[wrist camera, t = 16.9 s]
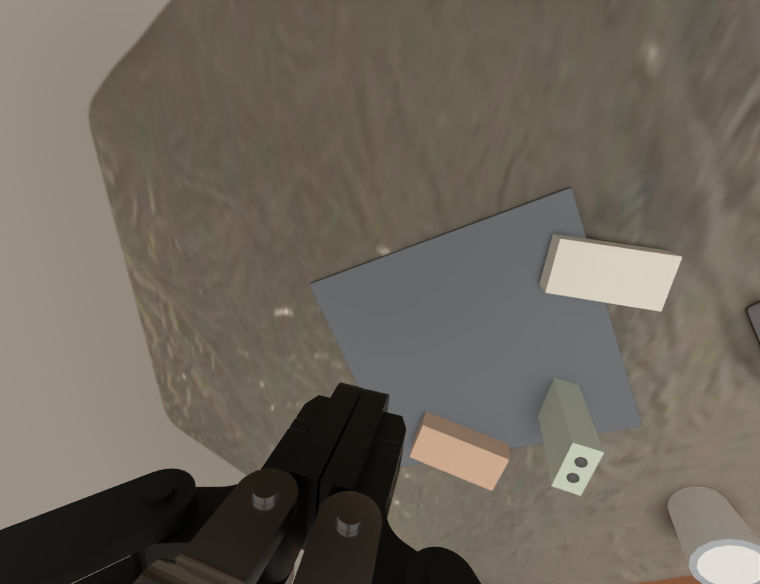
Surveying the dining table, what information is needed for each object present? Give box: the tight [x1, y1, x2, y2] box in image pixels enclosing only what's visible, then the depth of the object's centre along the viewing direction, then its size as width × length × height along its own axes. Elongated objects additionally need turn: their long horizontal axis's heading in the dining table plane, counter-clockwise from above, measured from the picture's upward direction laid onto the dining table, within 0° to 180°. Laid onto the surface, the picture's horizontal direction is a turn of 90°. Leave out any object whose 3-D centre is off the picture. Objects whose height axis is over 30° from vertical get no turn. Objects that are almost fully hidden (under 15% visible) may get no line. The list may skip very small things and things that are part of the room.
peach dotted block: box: [410, 412, 509, 491], centre depth 47 cm, size 2×5×10 cm
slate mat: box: [309, 187, 642, 467], centre depth 44 cm, size 26×28×1 cm
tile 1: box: [539, 234, 682, 311], centre depth 37 cm, size 2×5×10 cm
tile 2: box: [538, 378, 604, 496], centre depth 39 cm, size 2×5×10 cm, turn 169°
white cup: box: [667, 486, 760, 584], centre depth 41 cm, size 7×7×7 cm
